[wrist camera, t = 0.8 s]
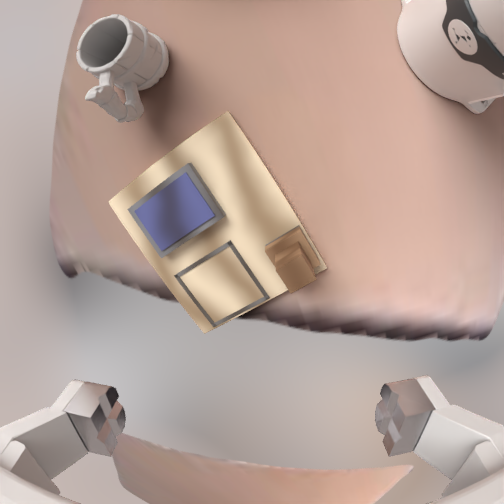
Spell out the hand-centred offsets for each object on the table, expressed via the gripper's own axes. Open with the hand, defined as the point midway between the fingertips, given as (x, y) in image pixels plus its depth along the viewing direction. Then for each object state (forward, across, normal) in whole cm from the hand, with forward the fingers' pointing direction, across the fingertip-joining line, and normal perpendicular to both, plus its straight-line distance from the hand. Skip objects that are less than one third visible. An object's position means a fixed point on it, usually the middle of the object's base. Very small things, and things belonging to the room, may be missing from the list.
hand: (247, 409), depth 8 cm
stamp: (+27, -4, +2) cm, 28 cm away
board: (+28, +5, 0) cm, 29 cm away
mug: (+28, +13, -19) cm, 36 cm away
